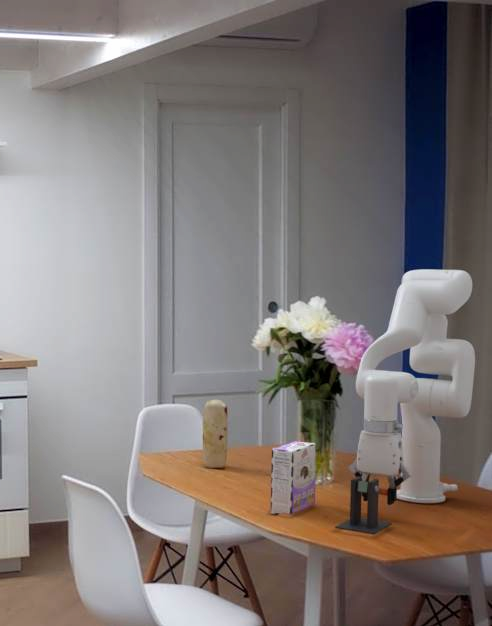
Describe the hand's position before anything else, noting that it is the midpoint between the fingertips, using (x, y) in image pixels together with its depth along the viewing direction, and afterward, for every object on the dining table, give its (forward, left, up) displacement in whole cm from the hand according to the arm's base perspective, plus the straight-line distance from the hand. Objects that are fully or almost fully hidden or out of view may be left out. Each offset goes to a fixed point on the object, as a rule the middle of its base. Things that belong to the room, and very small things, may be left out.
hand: (378, 501), depth 254 cm
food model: (+21, -67, -5) cm, 70 cm away
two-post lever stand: (+7, +7, -5) cm, 11 cm away
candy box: (+17, -12, -5) cm, 21 cm away
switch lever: (+4, +4, +3) cm, 6 cm away
